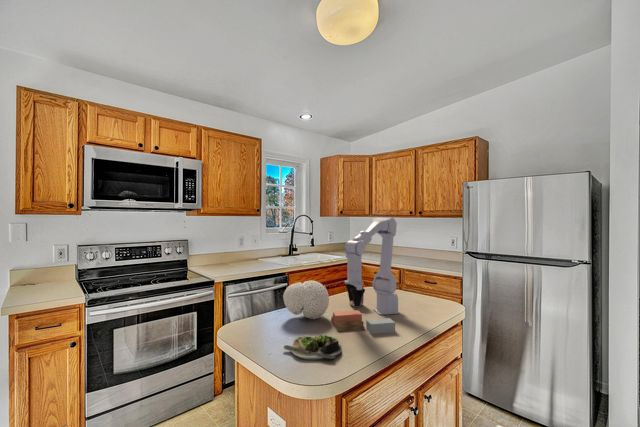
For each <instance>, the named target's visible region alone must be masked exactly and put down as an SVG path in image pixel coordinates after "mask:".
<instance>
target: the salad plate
mask: <svg viewBox="0 0 640 427" xmlns="http://www.w3.org/2000/svg"><path fill="white" fill-rule="evenodd" d="M283 349H284V350H287V351H290V352H291V353H292V354H293V355H294V356H296V357H298V358H300V359H303V360H312V361H313V360H315V361H330V360H334V359H336V358H339V357H340V355H341V354H342V345H341V341H340V339H339V338H337V337H336V336H334V335H325V334H322V335H321V334H318V335H302V336H301V335H300V336H298V337H297V338H295V339H294V340H293V341H292V346H291V345H284V346H283Z"/></svg>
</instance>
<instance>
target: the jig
mask: <svg viewBox="0 0 640 427" xmlns="http://www.w3.org/2000/svg"><path fill="white" fill-rule="evenodd" d="M330 321H331V323H332V324H333V327H334V328H335V330H336V331H337V332H349V331H351V332H352V331H365V329H366V326H364V324H365V323H364V321H363V320H362V321H353V322H338V323H336V326H335V324H334V322H333V315H331V318H330Z"/></svg>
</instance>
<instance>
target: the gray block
mask: <svg viewBox="0 0 640 427" xmlns="http://www.w3.org/2000/svg"><path fill="white" fill-rule="evenodd" d="M365 321H366V322H365V329H366V331H367V332H368V333H369V335H376V334H377V335H378V334H379V335H380V334H389V333H390V334H391V333H396V322H395V321H394V320H392V318H391V317H388V318H373V319H366V320H365Z"/></svg>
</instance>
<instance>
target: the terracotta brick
mask: <svg viewBox="0 0 640 427" xmlns="http://www.w3.org/2000/svg"><path fill="white" fill-rule="evenodd" d="M332 316H333V322H334V324H335V326H336V323H338V322H353V321H363V313H362V312H360V310H342V311H341V310H340V311H332Z"/></svg>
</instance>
